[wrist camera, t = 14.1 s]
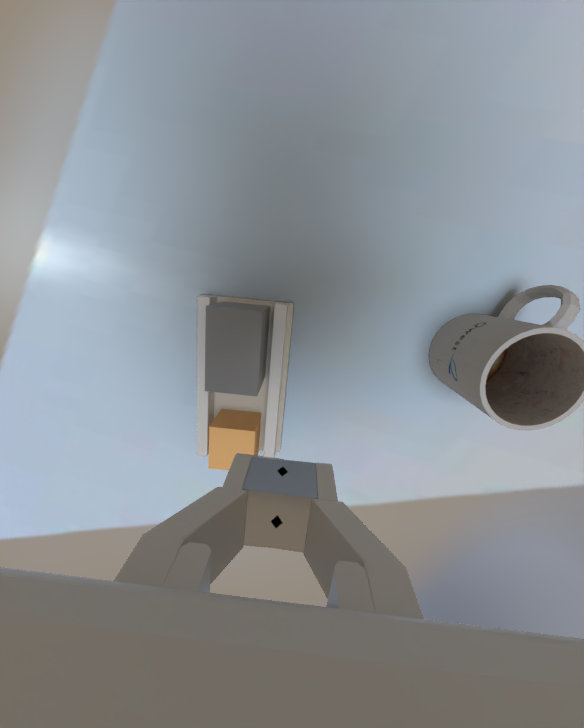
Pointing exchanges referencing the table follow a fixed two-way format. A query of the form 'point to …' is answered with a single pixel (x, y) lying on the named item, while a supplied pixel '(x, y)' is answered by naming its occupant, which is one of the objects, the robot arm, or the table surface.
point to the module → (236, 347)
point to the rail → (241, 412)
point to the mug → (515, 362)
